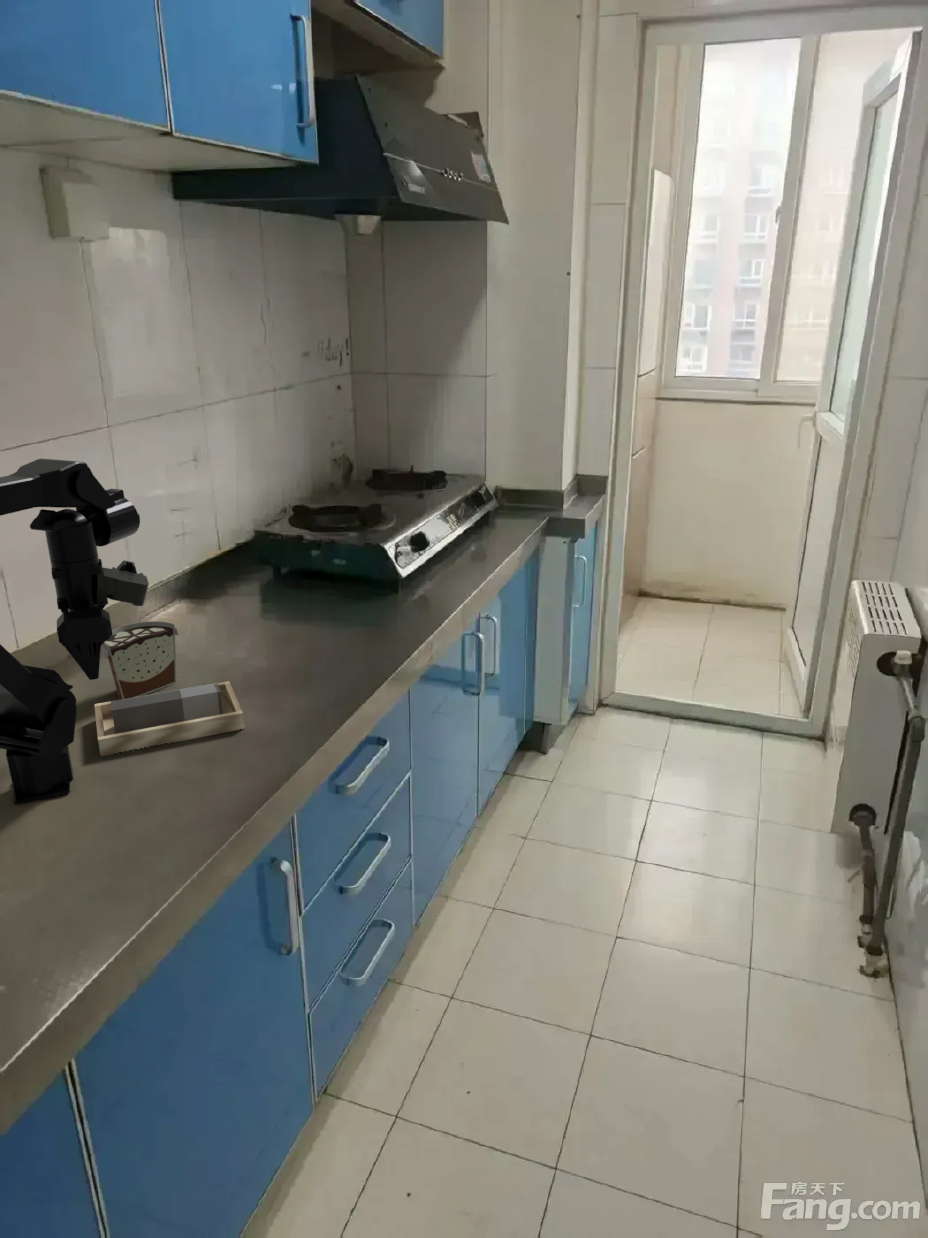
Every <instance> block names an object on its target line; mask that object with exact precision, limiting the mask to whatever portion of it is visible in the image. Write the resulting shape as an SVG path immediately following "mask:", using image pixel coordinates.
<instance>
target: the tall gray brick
mask: <svg viewBox="0 0 928 1238" xmlns="http://www.w3.org/2000/svg"><path fill="white" fill-rule="evenodd" d="M157 693H158V694H157ZM157 693H153V695H151V694H146V695H147V696H145V695H143V696H141V697H135V698H129V699H123V700H120V699H117V701H116V700H112V701H111V700H110V701H111V709H112V715H113V721H114V727H115V733H116V734H118V733H123V732H129V731H134V730H140V729H145V728H150V727H156V726H161V725H167V724H172V723H177V722H183V721H188V720H194V719H199V718H205V717H210V716H215V715H221V714H223V709H222V701H221V692H220V689H219V687H218V684H215V682H214V683H208V684H202V685H201V684H200V685H195V686H190V687H184V688H179V689H176V691H174V690H170V692H169V691H164V693H163V692H157Z"/></svg>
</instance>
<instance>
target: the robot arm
mask: <svg viewBox="0 0 928 1238" xmlns="http://www.w3.org/2000/svg"><path fill="white" fill-rule="evenodd" d="M34 508H42V509H40V510H39V513H38V515H36V517H35V518H34V519H32V521H31V522H30V523H29V528H30V529H31V530H33V531H43V532H45V533H44V534H45V538H46V543H47V550H48V555H49V559H50V565H51V577H52V580H53V582H54V588H55V592H56V604H57V610H60V612H61V614H60V616H59V617H58V618H57V619H56V633H57V637H58V642H59V644H61V646H62V647H64V648H65V650H66V651H67V652H68V653H69V654H70V656H71V657H72V658H73V660H75V662H76V663H77V665H78V666H79V667H80V669H81V670H82V672H83V673H84V674H85V676H86V677H87V678H88V680H90V681H93V680H98V679H99V677H100V664H101V663H100V662H101V652H102V644H103V643H104V642H105V641H106V640H109V639H110V638H111V636H112V635H113V634H112V630H113V628H112V621H111V616H110V612H108V611H107V610H105V609H104V608H105V607H106V606H107V605H109V600H112V601H115V602H116V601H118V602H123V603H127V604H132V605H133V606H137V607H142V606H144V604H145V600H146V596H147V594H148V593H147V592H148V587H149V586H150V585H149V581H148V580H149V579H148V577H147V576H146V575H144V573H143V572H139V573H138V572H137V568H136V565H135V562H134V561H128V560H124V559H123V560H122V561H121V562H120V564H118V566H117V567H114V566H113V567H111V568H109V567H103V563H102V562H103V561H102V559H101V558H99V553H98V547H105V546H107V545H111V544H112V543H115V542H118V541H120V540H122V539H125V538H127V537H130V536H132V535H134V534H136V532H137V531H138V530H139V528H140V524H141V517H140V513H139V512H138V511H137V508H136V507H135V505H134V504H133V503H132V502H131V501H130V500H129V499H127V498H126V497H125V492H124V490H123V489H119V488H109V489H105V487H104V486H103V485H102V484H101V483H100V481H99V480H98V479H97V478H96V477H95V475H94V473H93V472H92V470H91V468H90V467H89V466H88V463H86V462H84V461H76V460H75V461H74V460H67V459H66V460H63V459H52V458H38V459H35V460H33V461H31V462H28V463H25V464H24V465H21V466H19V468H18V469H17V470H16V471H15V472H14V473H11V474H9V475H6V476H5V475H4V476H0V517H1V516H4V515H9V514H13V513H17V512H21V511H25V510H26V511H27V510H29V509H34ZM43 508H44V509H43ZM45 508H58V509H59V508H63V509H61V510H60V509H59V510H57V511H56V510H52V509H45ZM71 508H73V509H71ZM74 509H75V510H74ZM108 599H109V600H108ZM73 688H74V685H73V684H68V683H67V682H66V681H64V679H63V678H62V676H61V675H60V674H59V673H58V672H57V671H56V670H55V669H51V668H45V667H38V666H33V665H26V664H22V663H21V662H20V661H19V660H18V659H17V658H16V657H15V656H13V654H12V653H10V652H9V651H8V650H7V649H6V648H5V647H4V646H3V645H2V644H1V643H0V750H1V749H2V750H6V753H5V757H6V762H7V765H8V771H9V775H10V781H11V784H12V788H13V793H12V794H13V796H12V800H13V802H12V803H13V804H15V805H19V804H23V803H28V802H33V801H36V800H38V801H39V800H43V799H48V798H51V797H57V796H61V795H63V796H64V795H67V794H69V793H70V792H71V783H72V782H73V781H74V770H73V764H72V760H71V754H70V749H69V745H71V744H72V743H73V742H74V740H75V730H76V721H77V711H78V709H77V698H76V695H74V692H72V689H73Z"/></svg>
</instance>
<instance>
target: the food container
mask: <svg viewBox="0 0 928 1238" xmlns="http://www.w3.org/2000/svg"><path fill="white" fill-rule="evenodd" d="M112 634H113V635H112V636H111V638H110V639H109V640H106V641H105V642H104V643H103V644H102V645H101V655H102V656H103V657H104V658H105V659H106V660H108V663H109V666H110V670H111V674H112V676H113V682H114V685H115V689H116V692H117V694H118V698H119V699H118V700H122V699H128V698H133V697H139V696H145V695H149V694H152V693H153V692H156V691H159V690H161V689H163V688H167V687H168V686H171V685H173V684H176V683H177V662H176V661H177V660H176V659H177V658H176V657H177V656H176V655H177V654H176V636H180V635H179V631H178V629H177V627H176V626H175V623H173V622H168V621H160V620H159V621H158V620H154V621H153V620H152V621H138V622H132V623H129V624H124V625H122V626H119V627H117V628H114V629H112Z"/></svg>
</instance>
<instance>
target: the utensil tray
mask: <svg viewBox="0 0 928 1238" xmlns="http://www.w3.org/2000/svg"><path fill="white" fill-rule="evenodd" d="M214 684H218V687H219V689H220V692H221V701H222V709H223V714H221V715H215V716H210V717H205V718H199V719H194V720H188V721H183V722H177V723H172V724H167V725H161V726H156V727H150V728H145V729H140V730H134V731H129V732H123V733H118V734H116V733H115V727H114V721H113V715H112V709H111V700H110V701H105V702H99V703H95V704H94V713H95V714H94V715H95V723H96V733H97V734H96V735H97V742H98V743H97V744H98V749H99V754H100V757H106V756H111V755H116V754H119V753H118V752H122V753H125V752H124V751H127V752H129V751H128V750H131V749H137V750H140V749H139V748H142V749H145V748H144V747H147V748H149V747H148V746H153V745H158V744H162V743H166V742H167V743H168V744H170V743H169V742H173V743H177V742H183V741H189V740H194V739H198V738H204V737H208V736H213V735H215V736H216V735H219V734H223V733H224V734H225V733H229V732H234V731H235V732H236V731H241V730H244V729H245V718H244V712H243V709H242V707H241V705H240V703H239V700H238V698H237V696H236V694H235V691H234V689H233V687H232V685H231V683H230V681H228V680H227V681H223V682H222V681H221V682H214ZM176 690H177V689H176ZM176 690H173V691H176ZM170 691H171V690H170ZM170 691H168V692H170ZM164 692H165V691H164ZM164 692H162V693H164ZM158 693H159V692H157V693H156V694H158ZM153 694H154V693H153ZM153 694H152V693H150V695H153ZM147 695H148V694H145V695H144V696H147ZM139 697H141V696H139ZM133 698H135V697H133ZM128 699H129V698H128ZM117 700H118V699H117ZM117 700H115V701H117ZM122 700H123V699H122ZM240 729H241V730H240ZM158 746H159V745H158ZM153 747H154V746H153ZM115 753H116V754H115Z"/></svg>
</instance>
